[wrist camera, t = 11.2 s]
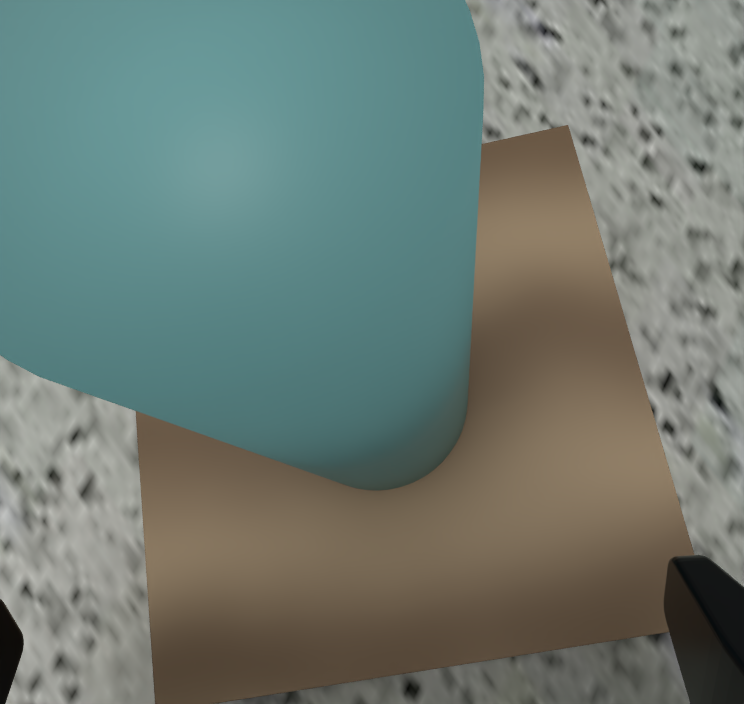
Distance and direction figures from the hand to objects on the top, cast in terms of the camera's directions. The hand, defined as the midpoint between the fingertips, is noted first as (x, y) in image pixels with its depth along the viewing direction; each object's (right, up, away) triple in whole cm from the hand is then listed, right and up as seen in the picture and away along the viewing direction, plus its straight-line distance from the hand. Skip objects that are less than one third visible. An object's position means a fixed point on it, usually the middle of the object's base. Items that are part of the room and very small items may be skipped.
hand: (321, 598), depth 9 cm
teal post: (+1, +2, +9) cm, 10 cm away
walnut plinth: (+1, +1, +13) cm, 13 cm away
